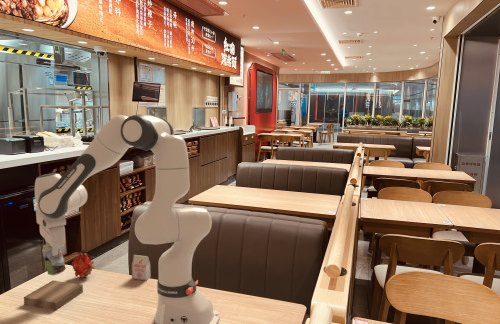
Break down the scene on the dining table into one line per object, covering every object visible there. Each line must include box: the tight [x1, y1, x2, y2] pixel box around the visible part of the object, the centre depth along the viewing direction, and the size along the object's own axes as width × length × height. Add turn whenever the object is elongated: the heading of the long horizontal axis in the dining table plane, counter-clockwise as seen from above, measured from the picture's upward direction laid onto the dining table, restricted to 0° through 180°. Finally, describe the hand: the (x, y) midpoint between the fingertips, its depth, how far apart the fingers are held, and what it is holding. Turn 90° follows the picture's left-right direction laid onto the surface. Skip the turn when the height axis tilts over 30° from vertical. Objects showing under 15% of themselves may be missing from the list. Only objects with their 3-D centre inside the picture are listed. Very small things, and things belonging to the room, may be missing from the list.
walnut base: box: [23, 280, 84, 311], centre depth 140 cm, size 14×14×4 cm
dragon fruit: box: [71, 249, 95, 279], centre depth 157 cm, size 8×8×12 cm
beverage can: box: [41, 243, 67, 276], centre depth 137 cm, size 6×7×12 cm
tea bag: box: [131, 254, 152, 282], centre depth 158 cm, size 4×7×10 cm, turn 76°
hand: (52, 252), depth 138 cm, fingers closed on beverage can, 5 cm apart
